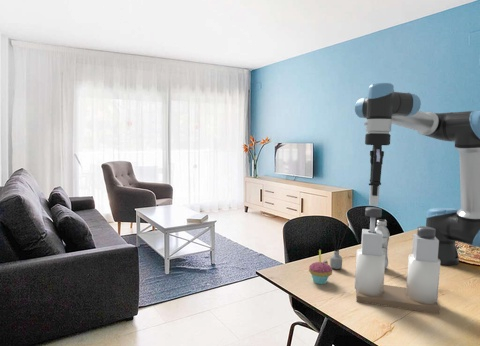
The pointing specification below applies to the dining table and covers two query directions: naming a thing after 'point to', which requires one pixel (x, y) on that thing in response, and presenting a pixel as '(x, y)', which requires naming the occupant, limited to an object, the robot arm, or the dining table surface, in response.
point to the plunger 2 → (426, 232)
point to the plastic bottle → (384, 237)
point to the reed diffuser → (336, 253)
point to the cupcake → (320, 271)
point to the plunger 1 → (373, 216)
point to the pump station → (418, 276)
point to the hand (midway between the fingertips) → (373, 204)
